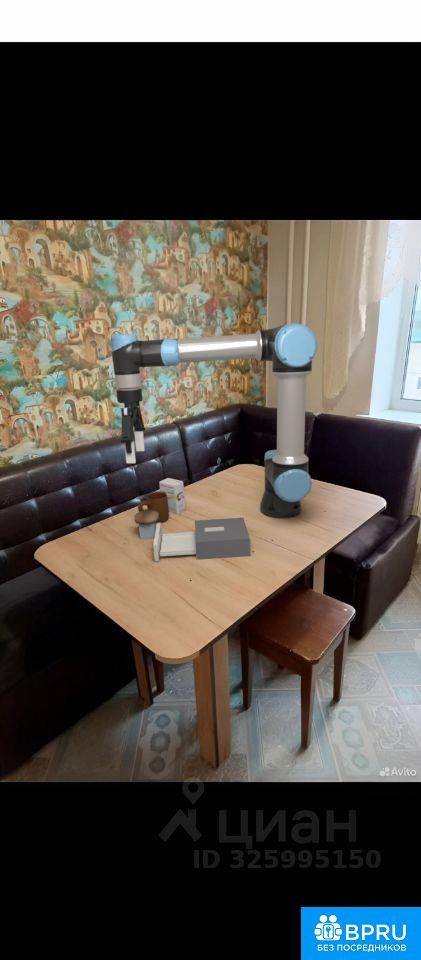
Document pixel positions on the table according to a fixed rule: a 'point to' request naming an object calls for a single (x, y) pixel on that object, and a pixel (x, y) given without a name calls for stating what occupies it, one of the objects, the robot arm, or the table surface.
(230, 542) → the housing
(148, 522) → the coaster
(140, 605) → the table surface
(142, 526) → the block
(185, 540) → the tray
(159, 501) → the mug
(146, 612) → the table surface
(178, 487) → the ink box
